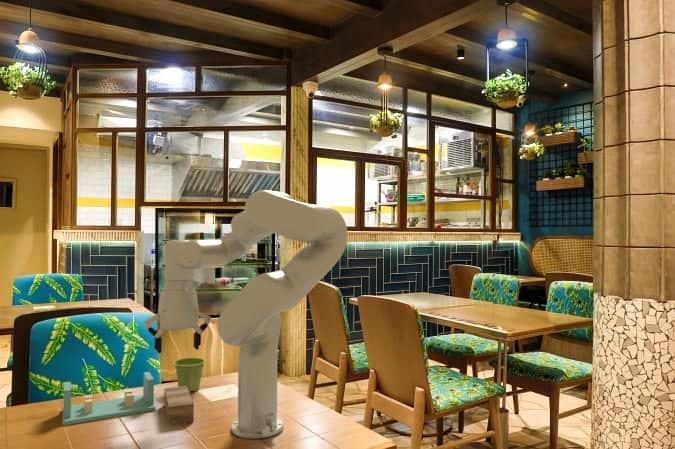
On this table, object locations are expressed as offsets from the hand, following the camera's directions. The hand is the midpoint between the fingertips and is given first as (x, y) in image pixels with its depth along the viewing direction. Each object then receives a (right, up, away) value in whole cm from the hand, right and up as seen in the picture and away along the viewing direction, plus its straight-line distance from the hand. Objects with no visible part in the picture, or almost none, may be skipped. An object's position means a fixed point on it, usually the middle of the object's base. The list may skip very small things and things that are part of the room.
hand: (177, 350), depth 132 cm
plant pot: (-3, -17, +20) cm, 26 cm away
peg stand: (-19, -17, +2) cm, 25 cm away
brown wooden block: (0, -17, 0) cm, 17 cm away
